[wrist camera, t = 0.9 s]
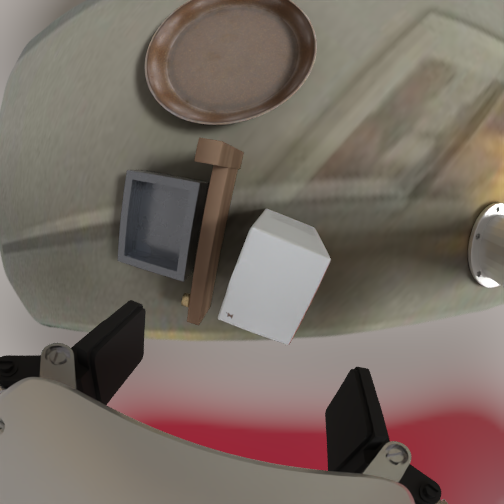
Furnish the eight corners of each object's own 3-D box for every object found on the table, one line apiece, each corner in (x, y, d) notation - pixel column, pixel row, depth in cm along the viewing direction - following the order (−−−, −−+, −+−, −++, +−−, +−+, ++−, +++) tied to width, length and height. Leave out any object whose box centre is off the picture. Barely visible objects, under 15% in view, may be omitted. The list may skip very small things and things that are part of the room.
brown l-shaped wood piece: (243, 152, 30) (222, 141, 20) (212, 307, 36) (186, 349, 26) (219, 147, 30) (188, 136, 21) (191, 301, 36) (160, 340, 26)
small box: (290, 287, 33) (288, 348, 21) (242, 268, 34) (214, 320, 21) (316, 226, 31) (333, 258, 19) (265, 206, 31) (248, 225, 19)
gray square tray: (209, 182, 31) (199, 183, 28) (193, 271, 35) (183, 281, 31) (141, 170, 32) (127, 170, 29) (131, 253, 35) (117, 260, 32)
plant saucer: (129, 96, 30) (116, 90, 27) (207, -14, 24) (201, -26, 21) (260, 159, 30) (257, 157, 27) (342, 32, 24) (346, 20, 21)
